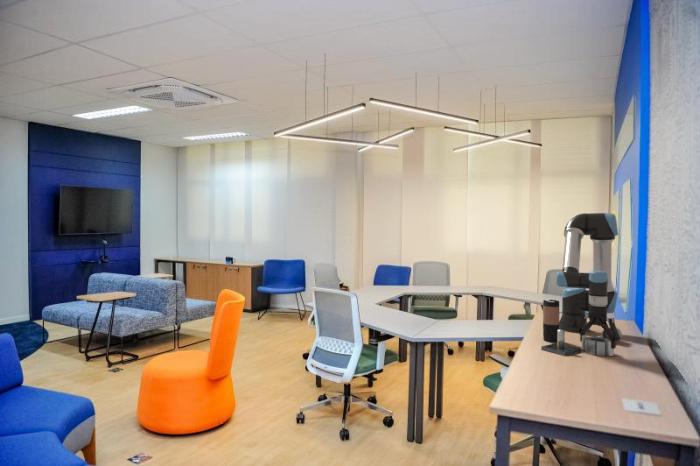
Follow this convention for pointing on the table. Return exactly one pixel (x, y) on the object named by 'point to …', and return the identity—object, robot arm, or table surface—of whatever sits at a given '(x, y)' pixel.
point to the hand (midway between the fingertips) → (597, 352)
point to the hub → (597, 346)
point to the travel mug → (550, 320)
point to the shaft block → (561, 346)
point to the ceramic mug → (607, 335)
